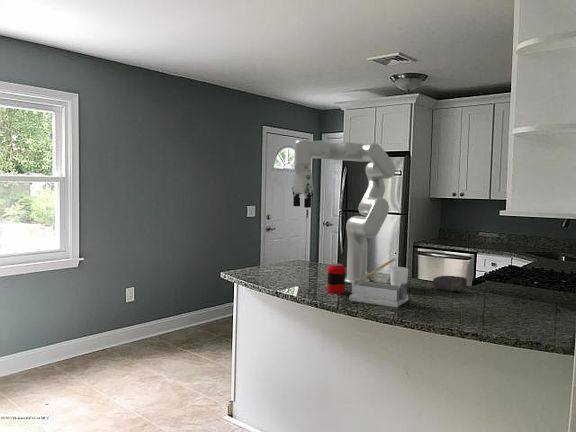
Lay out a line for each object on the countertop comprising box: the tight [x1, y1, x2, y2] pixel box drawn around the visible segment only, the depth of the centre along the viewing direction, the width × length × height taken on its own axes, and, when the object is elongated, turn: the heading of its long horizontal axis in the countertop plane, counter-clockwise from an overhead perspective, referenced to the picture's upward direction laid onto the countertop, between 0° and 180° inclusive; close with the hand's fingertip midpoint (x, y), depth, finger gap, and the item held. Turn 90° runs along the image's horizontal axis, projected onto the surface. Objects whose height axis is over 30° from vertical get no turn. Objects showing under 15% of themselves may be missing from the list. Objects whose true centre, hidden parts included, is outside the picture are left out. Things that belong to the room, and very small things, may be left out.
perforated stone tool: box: [431, 275, 468, 293], centre depth 222 cm, size 15×5×7 cm, turn 54°
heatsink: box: [349, 278, 409, 308], centre depth 201 cm, size 14×22×8 cm, turn 60°
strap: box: [356, 258, 396, 283], centre depth 201 cm, size 4×18×1 cm
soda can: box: [326, 263, 346, 295], centre depth 215 cm, size 8×8×12 cm
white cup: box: [389, 266, 409, 286], centre depth 220 cm, size 8×8×10 cm
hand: (302, 206), depth 220 cm, fingers open, 9 cm apart
